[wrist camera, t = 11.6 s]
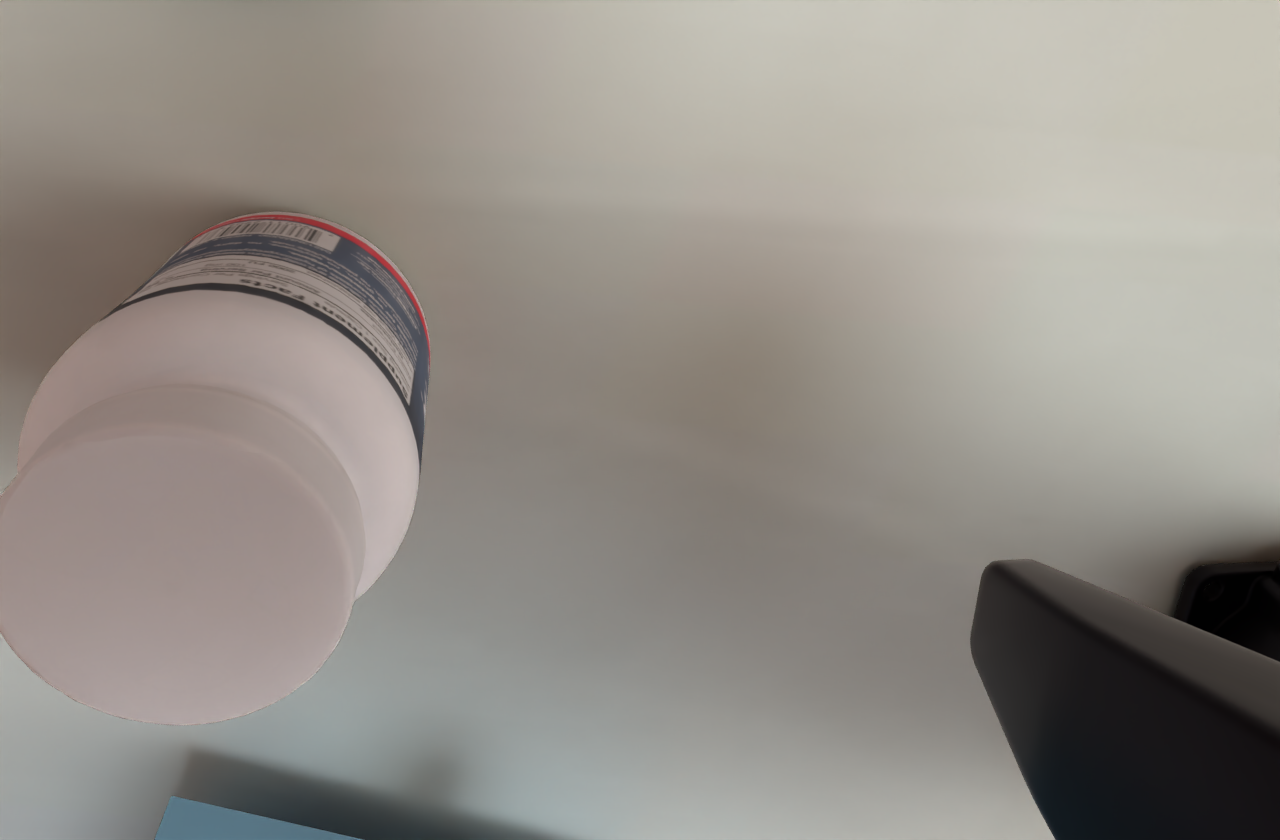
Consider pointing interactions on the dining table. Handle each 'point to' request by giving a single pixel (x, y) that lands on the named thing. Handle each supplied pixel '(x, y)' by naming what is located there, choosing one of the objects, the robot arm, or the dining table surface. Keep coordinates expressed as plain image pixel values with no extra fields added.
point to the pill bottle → (217, 474)
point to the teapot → (230, 825)
